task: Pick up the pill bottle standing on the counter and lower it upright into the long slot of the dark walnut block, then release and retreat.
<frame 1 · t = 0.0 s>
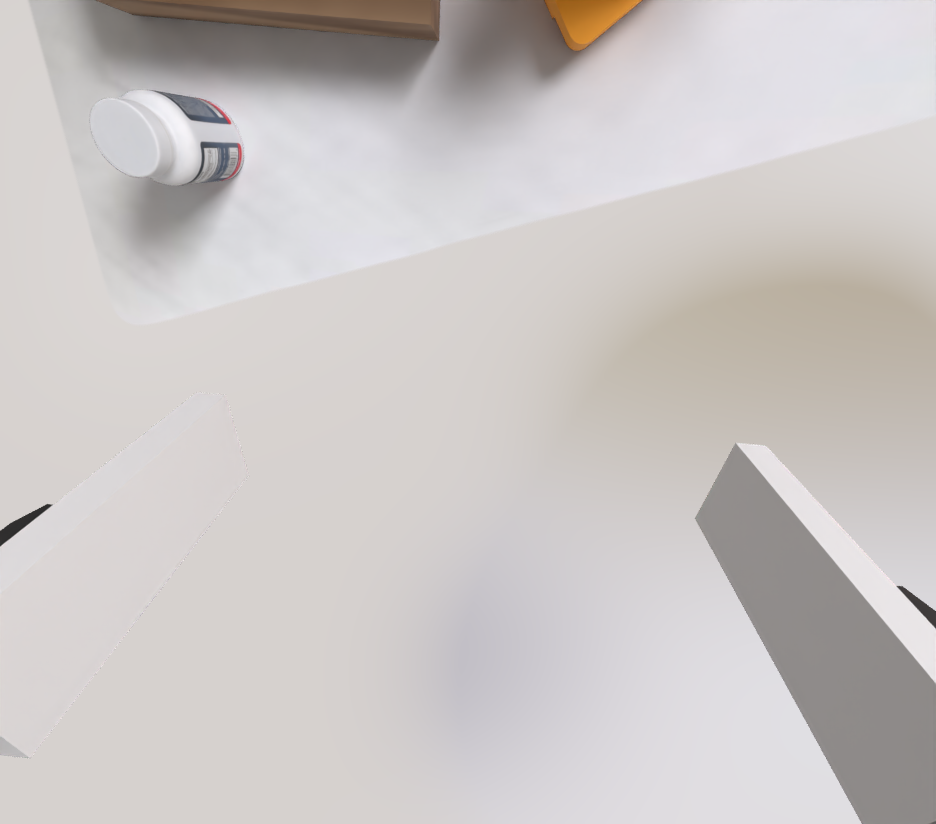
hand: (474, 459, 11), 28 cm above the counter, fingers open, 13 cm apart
pill bottle: (213, 142, 32), on the counter
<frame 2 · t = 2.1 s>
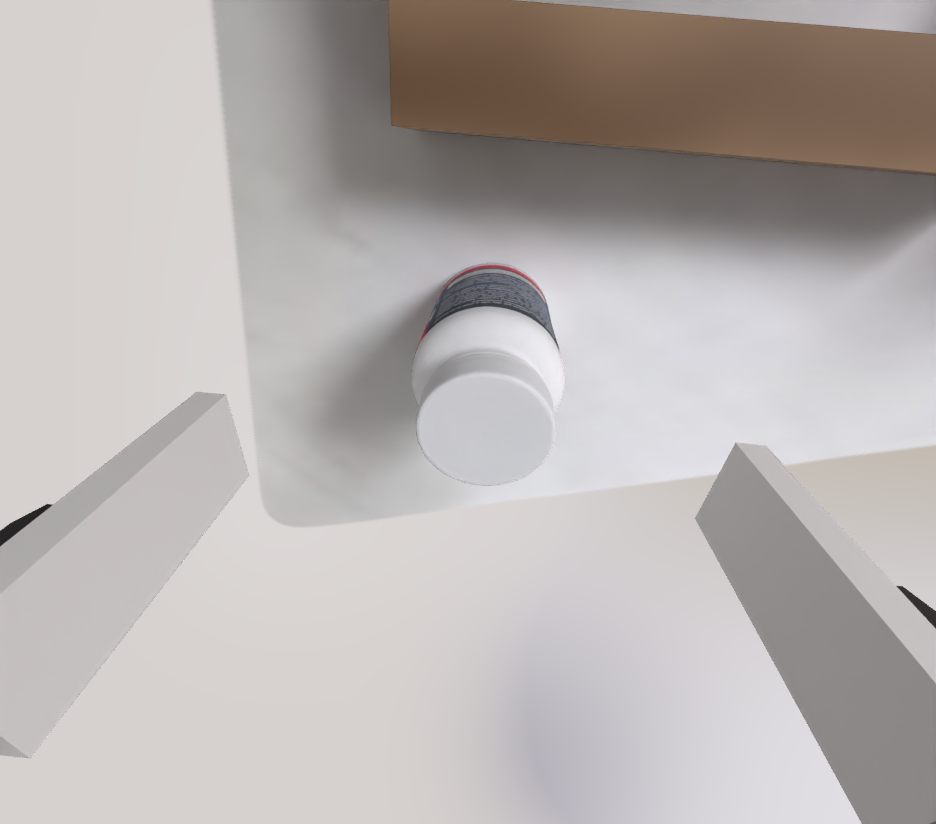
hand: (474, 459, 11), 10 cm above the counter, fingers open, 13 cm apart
pill bottle: (491, 318, 19), on the counter
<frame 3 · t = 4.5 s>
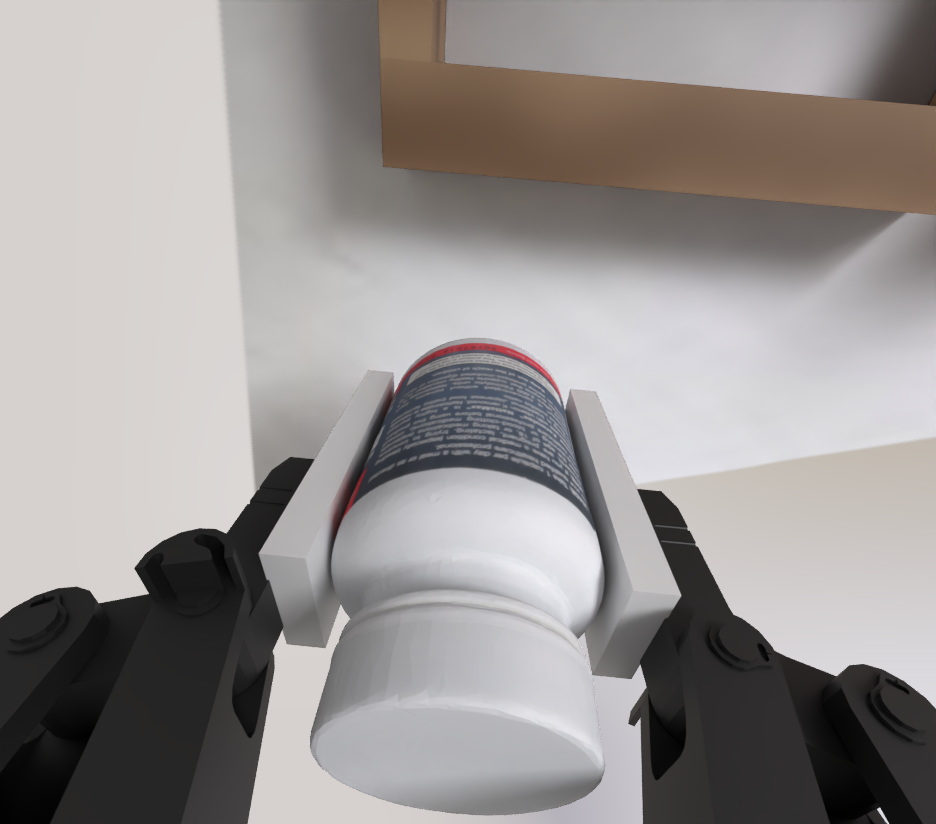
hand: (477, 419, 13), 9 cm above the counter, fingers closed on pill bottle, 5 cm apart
pill bottle: (478, 408, 13), point 8 cm above the counter, touching gripper
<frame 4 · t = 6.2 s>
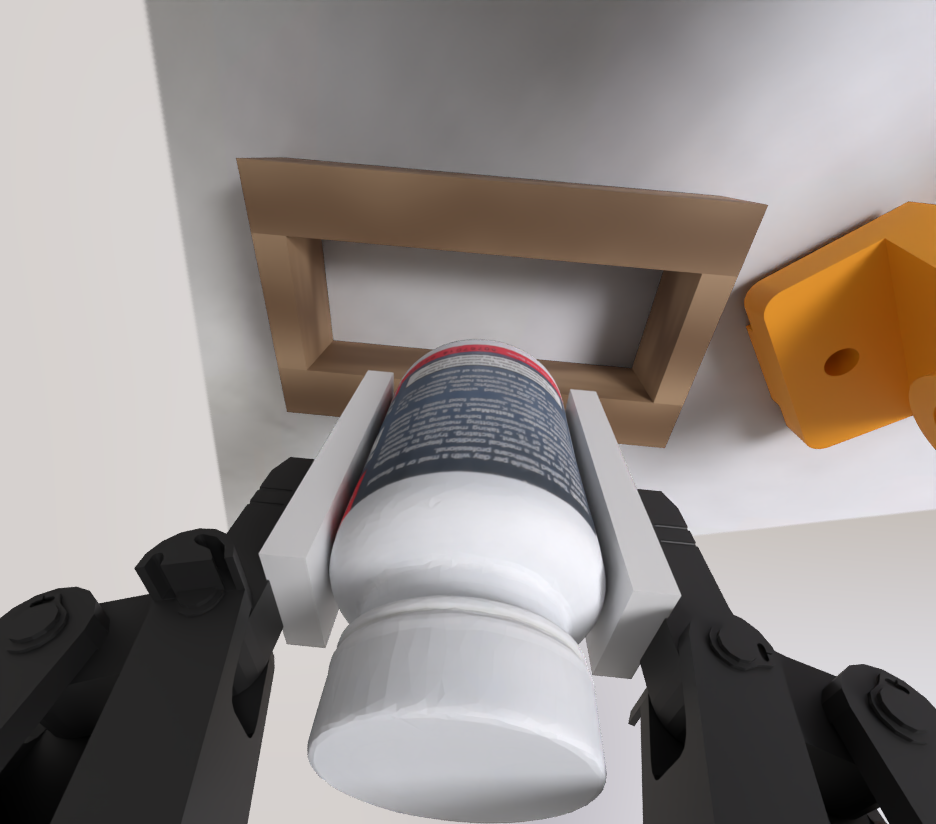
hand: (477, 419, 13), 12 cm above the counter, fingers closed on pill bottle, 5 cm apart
bracket: (826, 330, 23), on the counter
pill bottle: (478, 410, 13), point 11 cm above the counter, touching gripper
slot block: (487, 300, 23), on the counter
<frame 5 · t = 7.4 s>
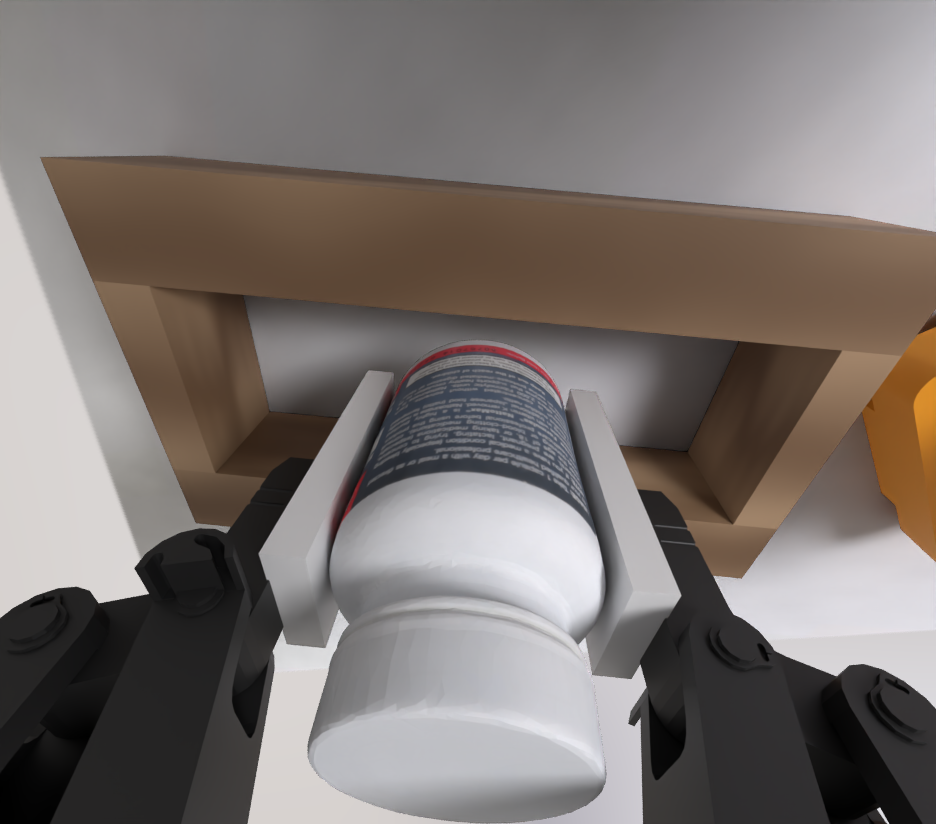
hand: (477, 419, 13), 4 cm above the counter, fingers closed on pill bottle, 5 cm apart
pill bottle: (478, 410, 13), point 3 cm above the counter, touching gripper
slot block: (484, 363, 16), on the counter
when the fingers open (1 cm above the counter, at t = 8.2 s): pill bottle stays where it is, resting in slot block.
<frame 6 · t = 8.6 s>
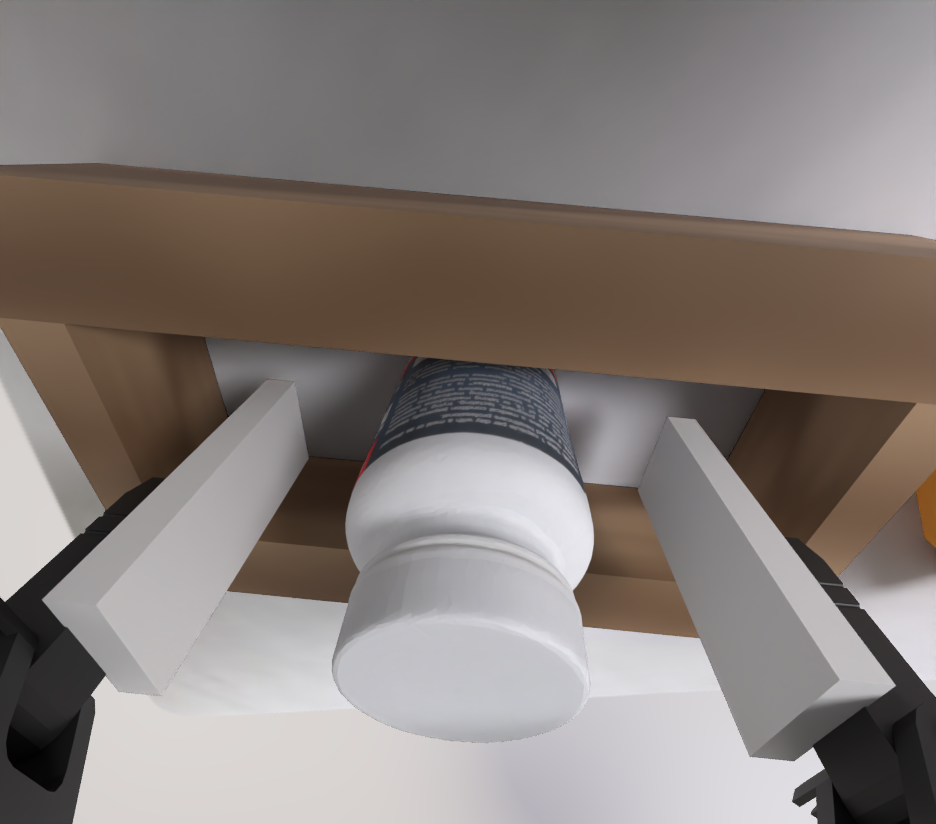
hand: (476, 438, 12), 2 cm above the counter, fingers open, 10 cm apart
pill bottle: (478, 393, 14), resting in slot block
slot block: (479, 398, 14), on the counter
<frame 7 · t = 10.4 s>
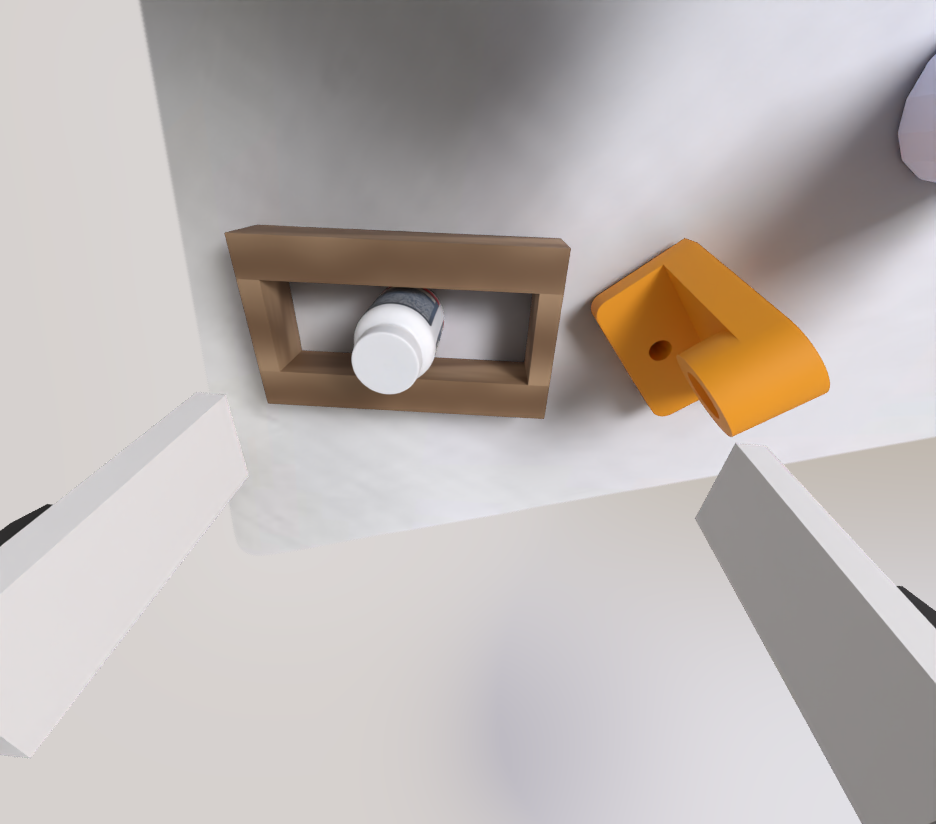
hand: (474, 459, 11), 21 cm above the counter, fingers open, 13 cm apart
bracket: (660, 328, 31), on the counter
pill bottle: (411, 314, 31), resting in slot block
slot block: (410, 316, 31), on the counter
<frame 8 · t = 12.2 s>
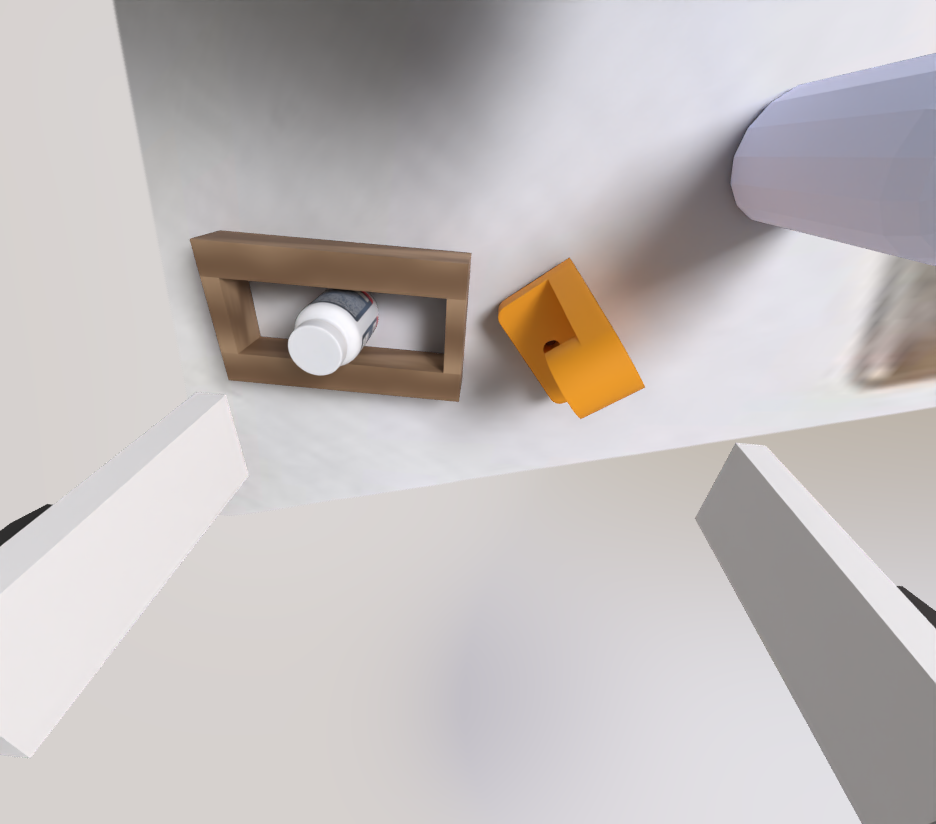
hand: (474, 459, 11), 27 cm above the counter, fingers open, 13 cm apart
soap bottle: (791, 163, 29), on the counter
bracket: (559, 329, 37), on the counter
pill bottle: (351, 310, 37), resting in slot block
slot block: (351, 312, 37), on the counter
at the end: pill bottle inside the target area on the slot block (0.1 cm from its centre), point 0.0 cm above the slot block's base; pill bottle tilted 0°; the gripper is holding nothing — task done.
